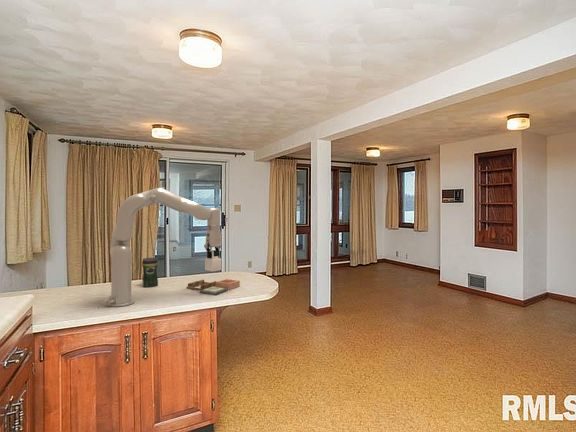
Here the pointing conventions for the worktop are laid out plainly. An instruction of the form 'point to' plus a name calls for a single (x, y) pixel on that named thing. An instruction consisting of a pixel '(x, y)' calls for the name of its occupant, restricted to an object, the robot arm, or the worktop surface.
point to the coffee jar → (149, 272)
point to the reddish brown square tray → (228, 284)
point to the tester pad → (213, 289)
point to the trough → (201, 282)
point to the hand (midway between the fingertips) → (213, 257)
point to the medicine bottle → (213, 262)
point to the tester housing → (213, 292)
